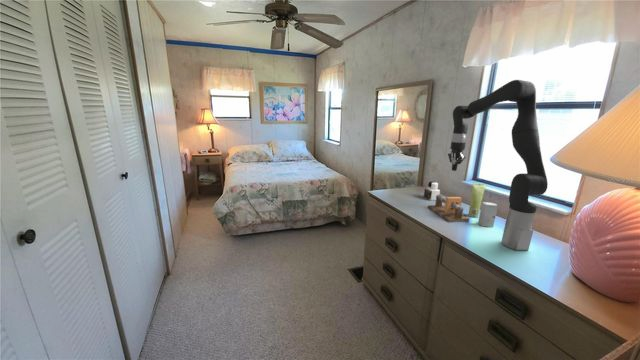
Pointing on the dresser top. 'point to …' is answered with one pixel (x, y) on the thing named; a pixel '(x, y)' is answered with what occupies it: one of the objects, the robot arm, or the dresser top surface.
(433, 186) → the medicine bottle
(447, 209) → the collar
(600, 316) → the dresser top surface
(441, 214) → the pipe stand
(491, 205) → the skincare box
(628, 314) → the dresser top surface
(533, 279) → the dresser top surface
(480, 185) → the tube
